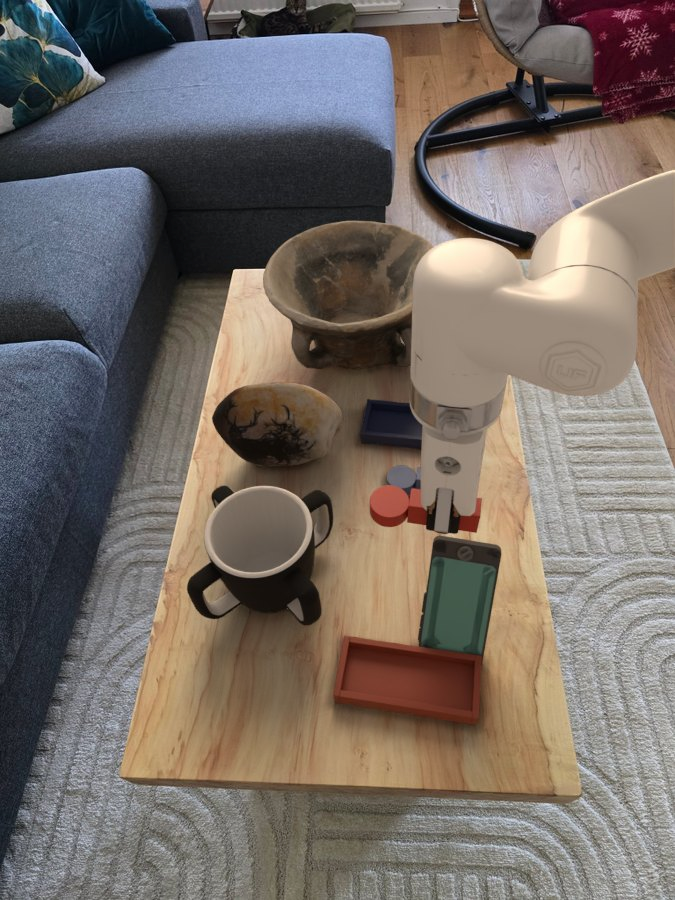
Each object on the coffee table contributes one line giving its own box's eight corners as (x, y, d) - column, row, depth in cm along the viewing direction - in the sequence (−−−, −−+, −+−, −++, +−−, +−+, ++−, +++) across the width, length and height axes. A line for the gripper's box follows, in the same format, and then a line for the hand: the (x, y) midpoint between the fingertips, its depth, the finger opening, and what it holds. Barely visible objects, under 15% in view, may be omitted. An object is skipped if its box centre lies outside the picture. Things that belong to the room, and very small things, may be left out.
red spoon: (478, 507, 70) (482, 490, 68) (475, 540, 67) (479, 524, 65) (373, 492, 72) (373, 475, 69) (366, 524, 69) (366, 507, 67)
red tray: (479, 663, 76) (481, 655, 75) (476, 725, 72) (478, 718, 70) (345, 643, 79) (344, 635, 77) (334, 702, 74) (333, 695, 73)
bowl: (292, 287, 122) (281, 212, 110) (440, 294, 118) (446, 217, 107) (258, 395, 105) (242, 319, 94) (430, 406, 102) (436, 329, 90)
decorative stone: (345, 434, 99) (339, 359, 87) (345, 483, 93) (339, 409, 82) (226, 438, 100) (204, 364, 88) (219, 487, 94) (195, 414, 83)
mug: (232, 517, 91) (214, 462, 82) (349, 536, 88) (344, 480, 79) (189, 630, 81) (163, 581, 72) (319, 655, 78) (310, 607, 69)
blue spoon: (468, 480, 93) (470, 466, 90) (467, 504, 90) (469, 490, 88) (388, 471, 94) (388, 458, 92) (384, 494, 92) (384, 481, 89)
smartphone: (502, 550, 70) (481, 670, 75) (502, 545, 72) (481, 663, 77) (431, 538, 72) (415, 657, 77) (432, 533, 73) (416, 651, 78)
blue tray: (471, 418, 100) (472, 408, 98) (468, 454, 95) (470, 444, 94) (367, 408, 102) (367, 398, 100) (360, 443, 98) (359, 433, 96)
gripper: (498, 473, 49) (475, 593, 63) (508, 329, 59) (486, 461, 73) (396, 461, 50) (395, 581, 65) (422, 322, 60) (416, 453, 74)
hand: (443, 516), depth 69 cm, fingers closed on red spoon, 2 cm apart
